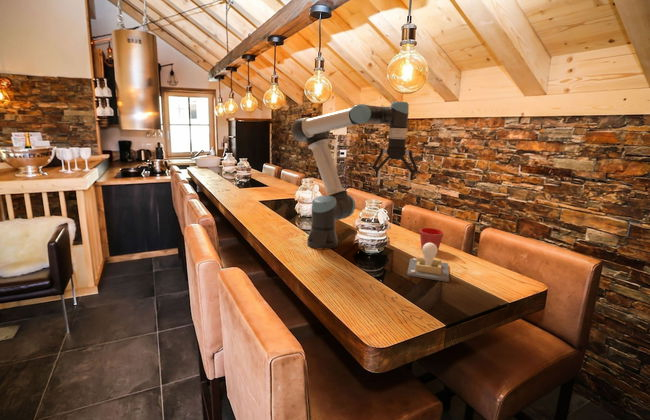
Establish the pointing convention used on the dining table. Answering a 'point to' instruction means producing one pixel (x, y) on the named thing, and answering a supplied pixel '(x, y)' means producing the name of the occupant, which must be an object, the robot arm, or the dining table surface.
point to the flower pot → (430, 236)
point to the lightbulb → (429, 253)
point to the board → (428, 269)
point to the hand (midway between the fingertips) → (393, 185)
